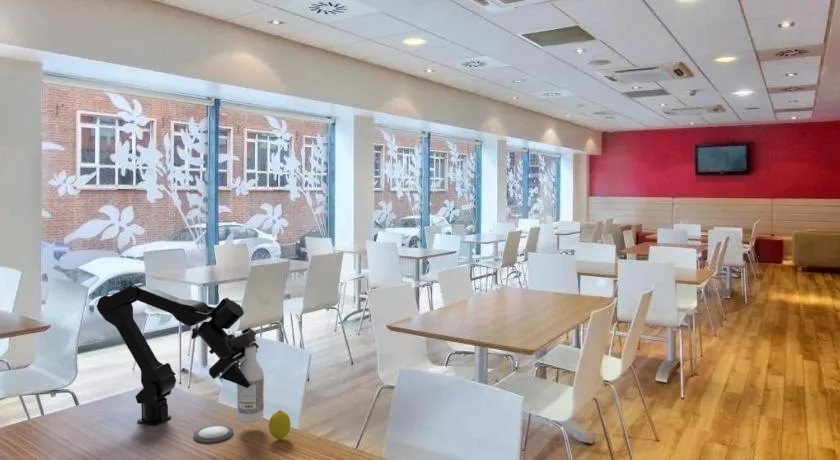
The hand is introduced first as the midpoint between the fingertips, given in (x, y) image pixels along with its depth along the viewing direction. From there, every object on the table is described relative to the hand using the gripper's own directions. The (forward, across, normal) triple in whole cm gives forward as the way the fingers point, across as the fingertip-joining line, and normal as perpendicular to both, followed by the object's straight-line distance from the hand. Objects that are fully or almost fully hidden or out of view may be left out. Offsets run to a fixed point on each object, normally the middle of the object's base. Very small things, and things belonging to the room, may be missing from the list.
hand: (255, 382), depth 164 cm
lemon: (+16, -5, +3) cm, 17 cm away
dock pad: (+3, -6, +16) cm, 17 cm away
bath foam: (+6, 0, +8) cm, 10 cm away
